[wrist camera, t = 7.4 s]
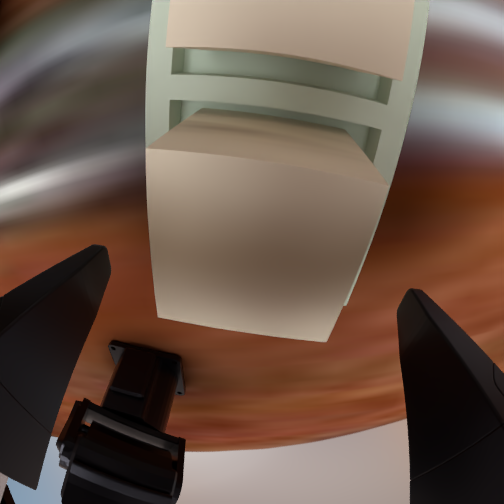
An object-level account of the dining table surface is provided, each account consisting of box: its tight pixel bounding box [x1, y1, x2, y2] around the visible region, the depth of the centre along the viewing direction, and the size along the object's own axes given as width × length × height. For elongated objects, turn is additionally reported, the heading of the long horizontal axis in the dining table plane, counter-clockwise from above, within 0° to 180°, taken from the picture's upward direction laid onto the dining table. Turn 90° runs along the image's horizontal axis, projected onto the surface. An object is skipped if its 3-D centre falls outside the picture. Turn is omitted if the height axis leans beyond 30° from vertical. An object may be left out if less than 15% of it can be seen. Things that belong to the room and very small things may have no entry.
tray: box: [145, 0, 430, 306], centre depth 10 cm, size 19×10×6 cm, turn 174°
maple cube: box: [146, 108, 389, 342], centre depth 11 cm, size 6×6×6 cm
